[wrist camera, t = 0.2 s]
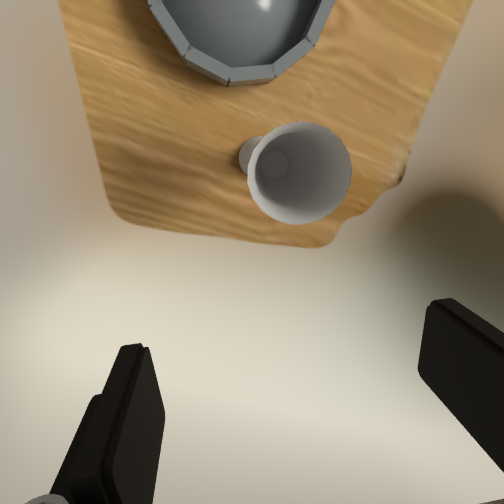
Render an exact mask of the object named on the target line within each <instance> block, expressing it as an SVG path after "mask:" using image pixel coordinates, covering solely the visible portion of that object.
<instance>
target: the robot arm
mask: <svg viewBox="0 0 504 504" xmlns="http://www.w3.org/2000/svg"><path fill="white" fill-rule="evenodd" d="M418 372H419V375H420V377H421V378H422V379H423V380H424V382H425V383H426V384H427V385H428V386H429V387H430V389H431V390H432V391H433V392H434V393H435V394H436V395H437V397H438V398H439V399H440V400H441V401H442V402H443V403H444V405H445V406H446V407H447V408H448V409H449V410H450V411H451V413H452V414H453V415H454V416H455V417H456V418H457V420H458V421H459V422H460V423H461V424H462V425H463V426H464V428H465V429H466V430H467V431H468V432H469V433H470V435H471V436H472V437H473V438H474V439H475V440H476V441H477V443H478V444H479V445H480V446H481V447H482V448H483V449H484V450H485V452H486V453H487V454H488V455H489V456H490V458H491V459H492V460H493V461H494V462H495V463H496V464H497V466H498V467H499V468H500V469H501V470H502V471H503V472H504V333H503V332H501V331H500V330H499V329H497V328H496V327H494V326H493V325H491V324H490V323H488V322H487V321H485V320H484V319H482V318H481V317H479V316H478V315H476V314H475V313H473V312H472V311H471V310H469V309H468V308H466V307H465V306H463V305H462V304H460V303H459V302H457V301H456V300H454V299H452V298H447V299H440V300H434V301H432V302H431V303H430V305H429V306H428V307H427V309H426V316H425V322H424V329H423V335H422V342H421V349H420V355H419V362H418ZM164 424H165V410H164V406H163V402H162V398H161V394H160V390H159V386H158V382H157V378H156V374H155V370H154V366H153V362H152V358H151V354H150V350H149V348H148V347H143V345H142V344H141V343H138V344H131V345H124V346H122V347H121V348H120V350H119V353H118V355H117V357H116V360H115V362H114V365H113V367H112V369H111V372H110V375H109V377H108V379H107V382H106V384H105V386H104V389H103V391H102V394H98V395H95V396H94V397H93V398H92V399H91V401H90V403H89V405H88V407H87V409H86V412H85V414H84V416H83V418H82V421H81V423H80V425H79V427H78V430H77V432H76V434H75V436H74V439H73V441H72V443H71V445H70V448H69V450H68V452H67V455H66V457H65V459H64V461H63V464H62V466H61V468H60V470H59V473H58V475H57V477H56V479H55V482H54V484H53V486H52V488H51V491H50V493H49V494H48V495H42V496H39V497H37V498H34V499H32V500H30V501H28V502H27V503H25V504H152V502H153V497H154V490H155V483H156V477H157V470H158V464H159V457H160V450H161V444H162V437H163V431H164ZM482 504H504V499H501V500H496V501H491V502H487V503H482Z"/></svg>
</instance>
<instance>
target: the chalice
mask: <svg viewBox="0 0 504 504" xmlns="http://www.w3.org/2000/svg"><path fill="white" fill-rule="evenodd" d="M239 163H240V166H241V169H242V170H243V171H244V173H245V174H247V175H248V186H249V189H250V192H251V195H252V198H253V200H254V201H255V202H256V203H257V205H258V206H259V207H260V209H261V210H262V211H263V212H264V213H266V214H267V215H269V216H270V217H272V218H273V219H275V220H278V221H281V222H284V223H288V224H307V223H311V222H314V221H318V220H320V219H322V218H323V217H325V216H327V215H328V214H330V213H331V212H333V211H334V210H335V209H336V207H337V206H338V205H339V204H340V203H341V202H342V201H343V200H344V197H345V195H346V193H347V191H348V189H349V186H350V182H351V174H352V165H351V161H350V156H349V152H348V150H347V149H346V147H345V145H344V144H343V142H342V140H341V139H340V138H339V137H338V136H337V135H336V134H334V133H333V132H332V131H331V130H330V129H328V128H326V127H324V126H321V125H318V124H316V123H313V122H297V121H296V122H292V123H289V124H285V125H281V126H279V127H277V128H276V129H274V130H273V131H271V132H270V133H268V134H267V135H265V136H256V137H253V138H250V139H249V140H247V141H246V142H245V143H244V144H243V146H242V147H241V150H240V153H239Z"/></svg>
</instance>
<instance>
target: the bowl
mask: <svg viewBox="0 0 504 504" xmlns="http://www.w3.org/2000/svg"><path fill="white" fill-rule="evenodd" d="M334 3H335V0H148V5H149V7H150V10H151V12H152V14H153V16H154V19H155V21H156V22H157V24H158V25H159V27H160V28H161V30H162V31H163V33H164V34H165V35H166V37H167V38H168V40H169V41H170V43H171V44H172V46H173V47H174V49H175V50H176V52H177V53H178V54H179V56H180V57H181V59H182V60H183V62H184V63H185V64H186V65H187V66H189V67H190V68H192V69H194V70H196V71H198V72H200V73H202V74H204V75H206V76H208V77H209V78H211V79H213V80H215V81H217V82H219V83H221V84H223V85H225V86H226V85H227V83H228V87H230V86H242V85H253V84H264V83H269V82H271V81H273V80H274V79H275V78H277V77H278V76H279V75H280V74H282V73H283V72H284V71H285V70H287V69H288V68H289V67H291V66H292V65H293V64H294V63H296V62H297V61H298V60H299V59H301V58H302V57H303V56H305V55H306V54H307V53H308V52H309V51H310V50H312V49H313V48H314V46H315V45H316V43H317V41H318V39H319V36H320V34H321V32H322V30H323V27H324V25H325V23H326V21H327V18H328V16H329V14H330V12H331V9H332V7H333V5H334Z"/></svg>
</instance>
